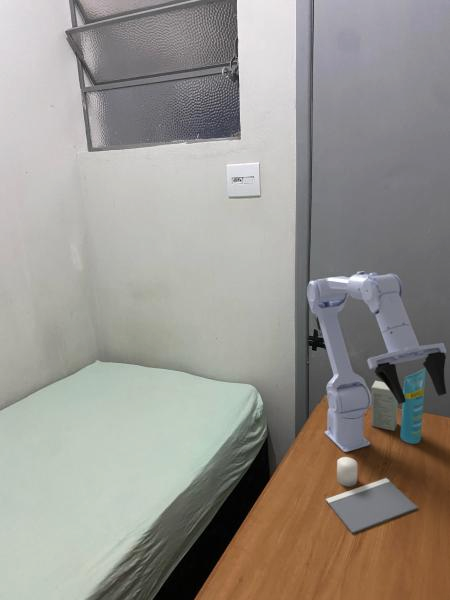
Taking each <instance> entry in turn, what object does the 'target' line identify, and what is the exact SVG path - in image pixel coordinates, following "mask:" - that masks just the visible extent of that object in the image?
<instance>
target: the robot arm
mask: <svg viewBox="0 0 450 600" xmlns="http://www.w3.org/2000/svg"><path fill="white" fill-rule="evenodd" d="M403 291H404V288H403V283H402V280H401V278H400V277H399V276H398V275H397V274H394V273H391V272H390V273H387V274H383V275H378V273H377V272H370V273H369V274H367V272H366V271H363V270H362V271H357V272H356V274H352V275H351V276H350V277H347V276H346V275H345V276H344V275H343V276H342V275H341V276H340V275H338V276H332V277H325V278H321V279H316V280H310V281H309V283H308V285H307V287H306V297H307V301H308V304H309V307H310V311H311V314H312V315H313V314H314V315H315V316H317V320H318V323H319V327H320V331H321V334H322V338H323V342H324V345H325V349H326V352H327V356H328V360H329V365H330V367H331V370H332V374H333V377H331V379H330V380H329V381H328V382H327V384H326V386H325V387H326V388H325V389H326V394H327V395H326V397H327V398H326V399H327V403H328V407H329V408H328V409H327V413H326V414H327V415H326V416H327V418H326V419H327V420H326V421H327V429H326V430H325V431H324V434H325V435H326V436H327V437H328V439H330V440H331V441H332V443H334V444H335V445H336V446H337V447H338V448H339V449H340V450H341V451H342V452H344V453H349V452H350V451H353V450H354V451H355V450H357V449H361V448H364V447H368V446H370V445H371V442H370V441H369V440H368V439H366V438H365V437H364V418H365V417H364V414H366V413H367V409H369V408H371V407H372V391H371V390H370V389H369V387H368V385H367V383H366V381H365V379H364V377H362V376H361V375H359V374H357V373H355V372H354V370H353V367H352V365H351V364H352V363H351V360H350V356H349V353H348V350H347V346H346V343H345V340H344V336H343V333H342V329H341V326H340V323H339V319H338V313H340V311H342V310H343V309H344V307H345V304H346V302H347V300H348V297H352V298H353V299H357V300H362V301H363V302H364V303H365V304H366V305H367V306H368V307H369V311H370V312H371V313H372V314H374V316H375V319H376V321H377V324H378V327H379V329H380V332H381V335H382V337H383V341H384V344H385V347H386V350H387V352H386V353H384V354H379V355H377V356H372V357H369V358H368V359H367V360H366V362H367V364H368V368H369V370H374V373H375V375H376V376H377V377H378V378H379V379H380V380H381V382H384V383H385V384H386V385H387V387H388V388H389V389H390V391H391V392H392V393H393V395H394V397H395V398H396V400H397V402H398V405H400V404H403V403H404V402H406V400H405V396H404V394H403V391H404V390H403V389H402V387H401V383H400V380H399V376H398V372H397V368H396V364H401V363H406V362H410V361H415V360H420V359H424V358H425V359H424V361H423V362H422V365H423V367H424V369H425V368H426V372H427V373H428V375H429V377H430V379H431V381H432V384H433V387H434V390H435V392H436V394H437V395H438V397H439V396H444V395H445V394H447V388H446V381H445V364H446V360H447V359H446V358H447V356H446V353H447V349H446V346H445V344H444V342H441V343H439V342H438V343H434V344H433V343H432V344H424V345H420V344H419V341H418V339H417V336H416V334H415V332H414V328H413V326H412V323H411V321H410V318H409V316H408V313H407V311H406V309H405V306H404V305H405V304H404V303H403V300H402V296H403ZM344 386H345V387H344Z"/></svg>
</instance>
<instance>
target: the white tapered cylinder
mask: <svg viewBox="0 0 450 600" xmlns="http://www.w3.org/2000/svg"><path fill="white" fill-rule="evenodd" d="M336 466H337V467H336V480H337V482H338V483H339V484H340V485H342V486H344V487H354V486H355V485H356V484H357V483H358V462H357V461H356V460H355V459H354V458H352V457H348V456H342V457H340V458H339V459H337V461H336Z"/></svg>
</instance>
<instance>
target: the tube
mask: <svg viewBox="0 0 450 600" xmlns="http://www.w3.org/2000/svg"><path fill="white" fill-rule="evenodd" d="M426 372H427V370H426V368H425V367H424V368H422V369H421V370H419V371H416V372H415V373H412V374H410V375H406V376H405V377H404V381H403V390H402V391H403V394H404V396H405V400H406V402H404V403H402V407H401V419H400V433H399V434H400V435H399V437H400V439H401V440H402V441H403V442H404V443H407V444H411V445H412V444H413V445H415V444H418V443H420V442H421V438H422V424H423V422H422V421H423V411H424V401H425V400H424V398H425V387H426V386H425V385H426Z"/></svg>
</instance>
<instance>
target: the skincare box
mask: <svg viewBox="0 0 450 600" xmlns="http://www.w3.org/2000/svg"><path fill="white" fill-rule="evenodd" d="M371 396H372V403H371V418H370V419H371V423H370V424H371V427H374V428H379V429H384V430H389V431H393V432H394V431H396V429H397V427H398V426H397V425H398V410H399V409H398V407H399V406H398V405H399V404H398V402H397V400H396V398H395V397H394V395H393V393H392V392H391V391H390V389H389V388H388V387H387V385H386V384H385V383H384V382H383V381H382V380H381V381H379V380H374V382H373V384H372V385H371Z"/></svg>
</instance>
